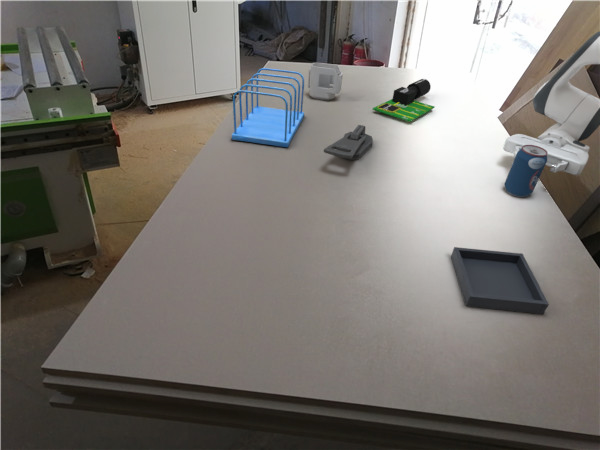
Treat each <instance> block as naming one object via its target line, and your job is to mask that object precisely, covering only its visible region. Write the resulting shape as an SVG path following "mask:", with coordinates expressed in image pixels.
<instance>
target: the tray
mask: <svg viewBox="0 0 600 450" xmlns="http://www.w3.org/2000/svg"><path fill="white" fill-rule="evenodd" d="M450 259H451V261H452V265H453V268H454V271H455V274H456V278H457V282H458V284H459V289H460V291H461V295H462V298H463V301H464V304H465V307H471V308H480V309H488V310H500V311H508V312H517V313H518V312H519V313H529V314H539V315H544V313H545V311H546V310H547V308H549V305H550V303H549V302H548V300H547V297H546V296H545V294H544V292H543V290H542V288H541V287H540V284H539V283H538V281H537V279H536V277H535V275H534V273H533V271H532V269H531V266H530V265H529V263H528V261H527V259H526V257H525V256H524V254H523V253H518V252H511V251H498V250H488V249H477V248H467V247H457V246H454V247H453V250H452V252H451V255H450Z"/></svg>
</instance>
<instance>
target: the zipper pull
mask: <svg viewBox="0 0 600 450" xmlns="http://www.w3.org/2000/svg"><path fill="white" fill-rule="evenodd" d="M373 143H374V139H373V136H372V135H370V134H367V133H366V126H365V125H363V124H357V126H356V127H355V128H354V130H353V131H349V132H346V133H344V135H343V137H341V138H340V139H338V140H337V141H334V143H332V144H329V145H328V146H327V147H325V148H324V149H323V153H325V154H328V155H331V156H335V157H339V158H342V159H345V160H349V161H356V160H357V161H359V160H361V158H362V157H364V155H365V154H366V153H367V152H369V151H370V150H371V149H372V147H373Z"/></svg>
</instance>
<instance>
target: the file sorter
mask: <svg viewBox="0 0 600 450" xmlns="http://www.w3.org/2000/svg"><path fill="white" fill-rule="evenodd" d="M261 71H271V72H278V73H288V74H294V75H295V74H296V75H299V77H301V80H302V83H300V81H299V79H297V78H296V77H294V76H287V75H280V74H272V73H263V72H261ZM259 76H262V77H263V76H264V77H270V78H271V77H273V78H280V79H281V78H282V79H287V80H294V81H295V82H296V83H297V86H298V88H296V87H295V85H294V84H293V83H291V82H287V81H280V80H272V79H266V78H265V79H263V78H259ZM254 81H255V82H256V84H254ZM259 82H264V83H271V84H279V85H280V84H281V85H288V86H290V87H292V89H293V91H294V98H293V96H292V94H291V92H290V90H288V89H287V88H283V87H276V86H268V85H261V84H260V85H259ZM244 88H245V90H243V89H244ZM249 88H250V90H248V89H249ZM254 88H256V91H254ZM259 88H260V89H268V90H275V91H276V90H277V91H283V92H286V93H287V94H288V97H289V103H288V101H287V98H285V97H284V96H282V95H280V94H274V93H269V92H260V91H259ZM304 90H305V77H304V75H303V74H302V73H301V72H298V71H293V70H287V69H278V68H268V67H261V68H260V69H258V70H257V72H256V73H255V74H253V75H252V76H251V78H249V79H248V80H247V81H246V83H245V84H243V85H241V86H240V88H239V90H236V92H235V93H233V96H232V113H233V114H232V115H233V132H232V133H231V140H233V141H241V142H249V143H255V144H262V145H269V146H275V147H282V148H283V147H284V148H289V146H290V144H291V142H292V140H293V138H294V136H295V134H296V133H297V131H298V129H299V127H300V126H301V123H302V122H303V119H304V118H305V111H303V105H304V92H305V91H304ZM242 93H244V94H245V115H246V116H245V118H244V119H243V106H242ZM237 94H238V99H239V103H238V104H239V122H240V124H239V125H238V126H237V114H236V96H237ZM248 94H250V102H251V111H250V112H249V100H248V96H249V95H248ZM254 95H256V105H255V106H254ZM259 96H268V97H274V98H280V99H281V100H283V101H284V104H285V109H281V108H275V107H269V106H260V105H259ZM288 104H289V105H288Z"/></svg>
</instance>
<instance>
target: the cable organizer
mask: <svg viewBox="0 0 600 450" xmlns="http://www.w3.org/2000/svg"><path fill="white" fill-rule="evenodd" d="M343 75H344V72H342V71H341V69H340V67H339V65H338V64H335V63H334V64H332V63H326V62H325V63H323V62H312V64H310V68H309V69H308V77H307V88H308V89H309V96H310V97H311V98H312V99H314V100H320V101H321V100H322V101H329V102H330V101H331V100H334V98H335V97H336V95H339V94H340V92H341V91H342V84H343Z"/></svg>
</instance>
